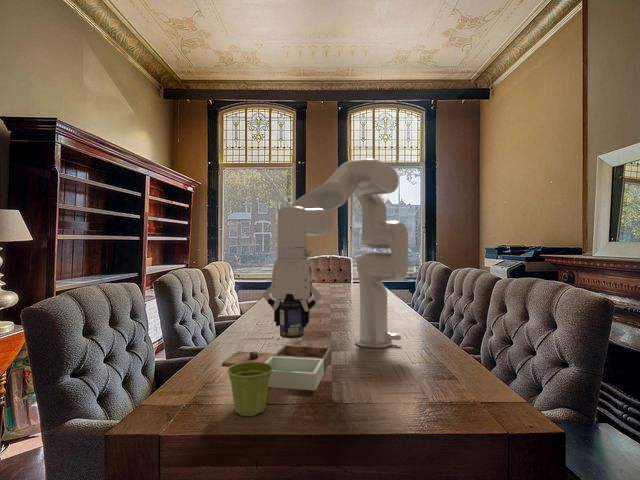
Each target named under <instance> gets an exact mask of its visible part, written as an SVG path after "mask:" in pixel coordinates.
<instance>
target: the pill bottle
mask: <svg viewBox="0 0 640 480" xmlns="http://www.w3.org/2000/svg"><path fill="white" fill-rule="evenodd" d="M303 309H304V308H303V306H302V303H301V301H300V300H295V299H294V296H293V294H286V297H285V300H283V301H282V302H281V304H280V325H279V336H280V337H281V338H282V339H283V338H284V339H298V338H300V339H301V338H302V337H304V334H305V331H304V330H305V327H302V311H303Z"/></svg>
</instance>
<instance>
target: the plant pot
mask: <svg viewBox="0 0 640 480" xmlns="http://www.w3.org/2000/svg"><path fill="white" fill-rule="evenodd" d="M272 371H273V366H272V365H270V364H267V363H263V362H244V363H239V364H235V365H232V366H228V367H227V369H226V373H227V375H228V376H229V380H230V384H231V391H232V398H233V407H234V412H235V413H236V414H239V416H242V417H253V416H256V415H258V414H260V413H263V412H265V409H266V402H267V396H268V395H267V394H268V389H269V387H268V382H269V378H270V375H271V372H272Z"/></svg>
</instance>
